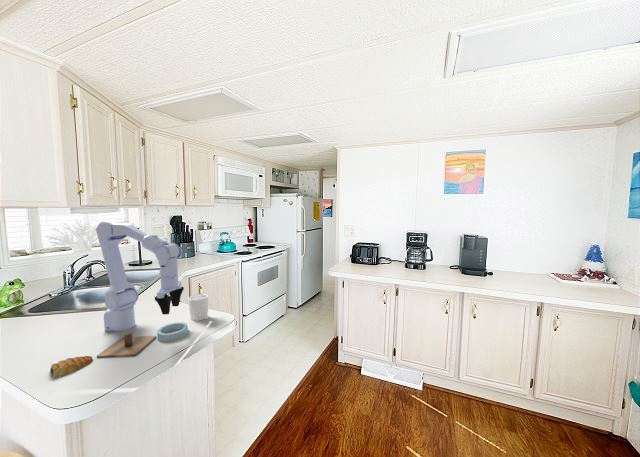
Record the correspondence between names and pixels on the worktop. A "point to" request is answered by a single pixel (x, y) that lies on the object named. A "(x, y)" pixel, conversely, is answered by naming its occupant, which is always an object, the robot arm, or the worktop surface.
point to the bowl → (174, 335)
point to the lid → (127, 346)
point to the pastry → (69, 365)
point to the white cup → (198, 307)
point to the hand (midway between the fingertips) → (170, 309)
